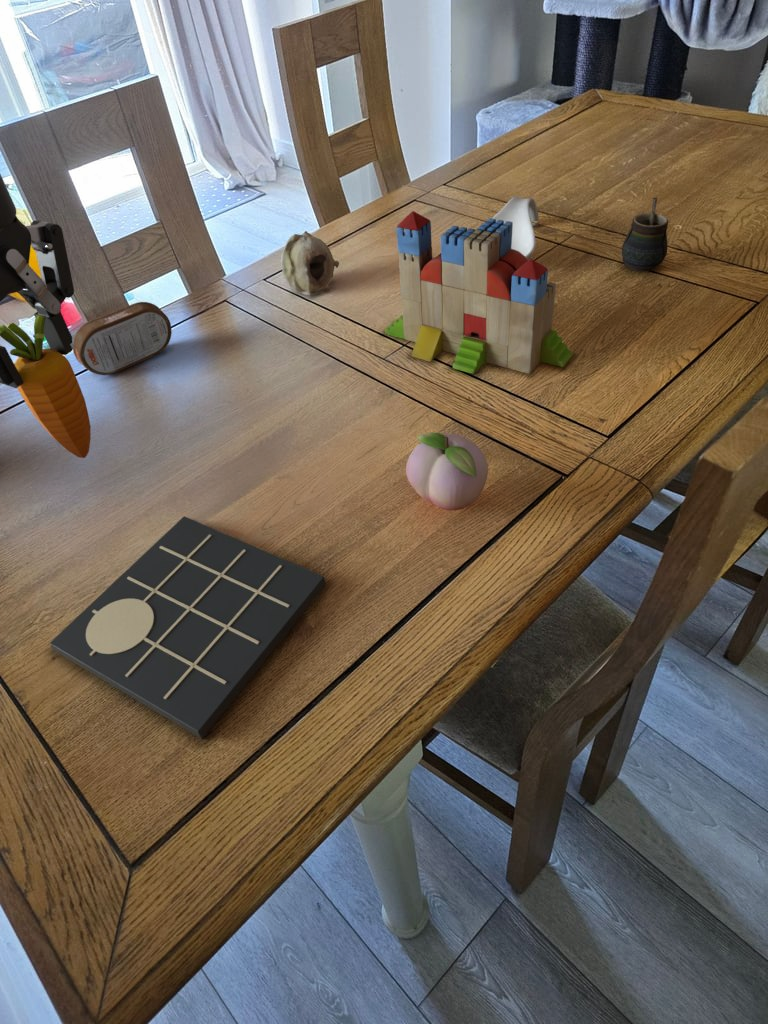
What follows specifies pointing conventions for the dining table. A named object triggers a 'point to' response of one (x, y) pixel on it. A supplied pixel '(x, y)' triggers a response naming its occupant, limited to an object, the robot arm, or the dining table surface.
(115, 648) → the grid board
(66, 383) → the carrot
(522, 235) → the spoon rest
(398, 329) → the block set
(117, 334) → the tin
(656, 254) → the mate gourd
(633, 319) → the dining table surface
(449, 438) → the decorative fruit
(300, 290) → the beige rounded lump
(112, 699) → the dining table surface
